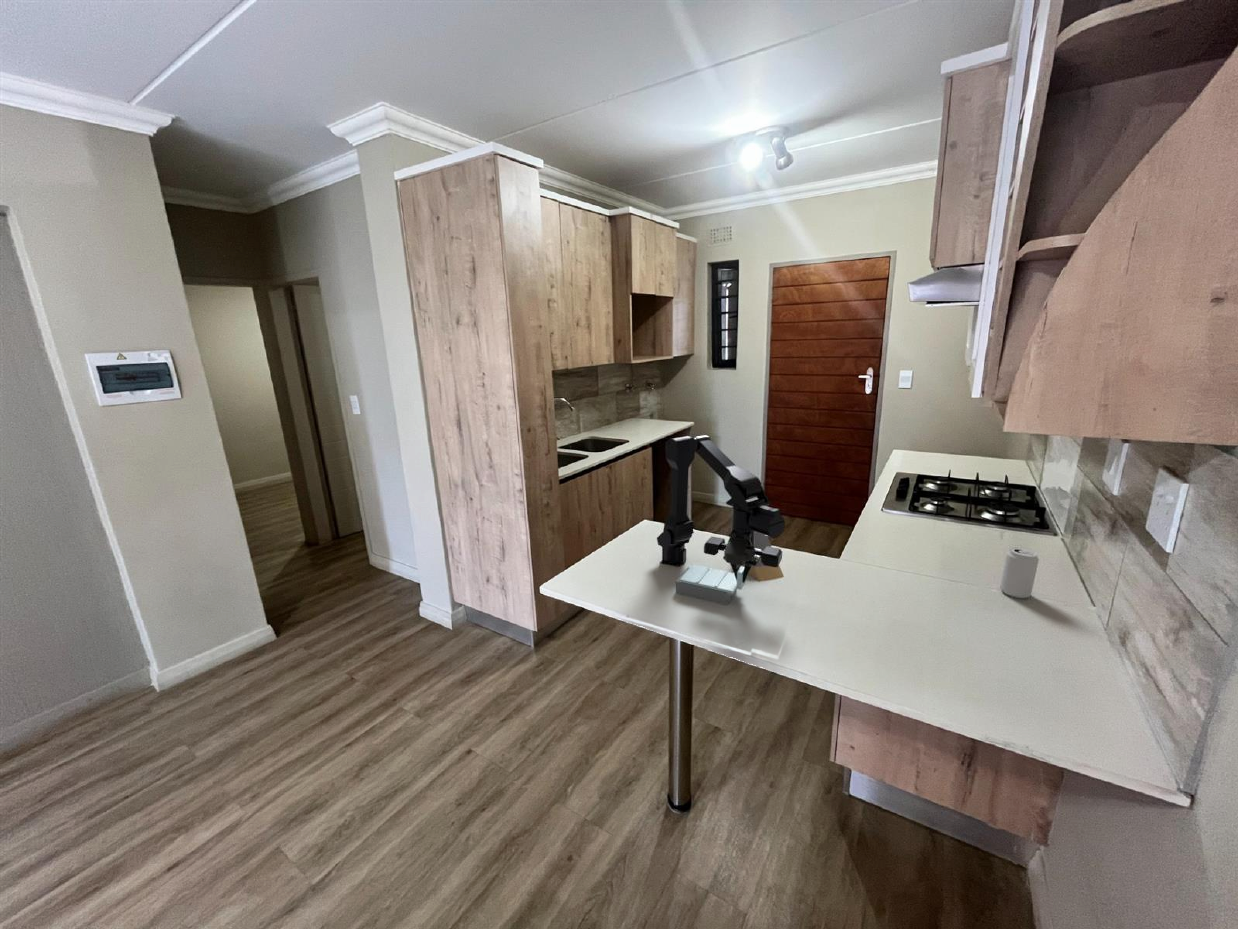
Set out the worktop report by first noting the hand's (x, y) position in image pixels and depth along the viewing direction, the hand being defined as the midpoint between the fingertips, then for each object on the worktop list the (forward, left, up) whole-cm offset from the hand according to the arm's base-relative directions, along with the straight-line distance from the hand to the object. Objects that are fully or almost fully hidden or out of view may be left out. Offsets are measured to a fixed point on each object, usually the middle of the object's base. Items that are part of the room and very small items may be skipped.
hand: (741, 581), depth 124 cm
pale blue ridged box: (-7, 0, -1) cm, 7 cm away
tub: (-9, 0, -6) cm, 11 cm away
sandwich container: (0, +19, -6) cm, 20 cm away
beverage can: (+63, +35, -6) cm, 72 cm away
